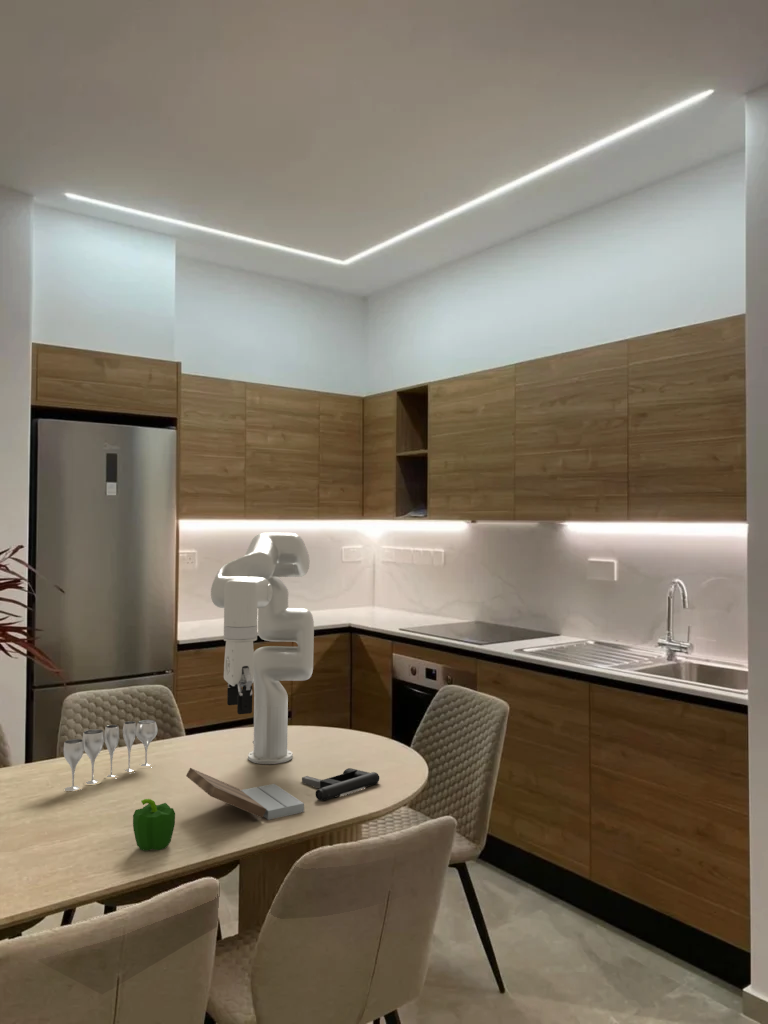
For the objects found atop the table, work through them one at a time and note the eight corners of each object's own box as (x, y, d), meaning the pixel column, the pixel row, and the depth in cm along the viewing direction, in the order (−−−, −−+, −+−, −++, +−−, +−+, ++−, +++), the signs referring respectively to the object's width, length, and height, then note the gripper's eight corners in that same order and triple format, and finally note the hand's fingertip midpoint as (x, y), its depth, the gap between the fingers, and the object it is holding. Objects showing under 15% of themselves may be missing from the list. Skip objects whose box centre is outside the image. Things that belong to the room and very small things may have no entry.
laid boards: (240, 798, 188) (240, 789, 188) (274, 791, 193) (274, 783, 193) (268, 819, 175) (268, 810, 175) (303, 811, 180) (303, 802, 180)
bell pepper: (177, 838, 164) (178, 790, 165) (171, 854, 156) (172, 804, 157) (136, 839, 163) (137, 791, 164) (128, 856, 155) (129, 805, 156)
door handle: (283, 779, 197) (325, 791, 185) (342, 762, 211) (384, 772, 200) (284, 792, 196) (326, 805, 185) (342, 775, 211) (385, 785, 199)
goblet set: (71, 794, 191) (72, 739, 191) (57, 789, 194) (58, 736, 194) (161, 765, 214) (162, 716, 214) (147, 761, 217) (148, 713, 217)
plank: (186, 775, 181) (190, 767, 182) (234, 796, 188) (238, 788, 188) (210, 796, 168) (215, 787, 168) (262, 817, 174) (266, 809, 175)
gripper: (215, 629, 184) (214, 702, 184) (233, 639, 168) (231, 718, 168) (247, 628, 187) (246, 700, 187) (266, 637, 171) (265, 715, 171)
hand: (239, 708), depth 177 cm, fingers open, 9 cm apart
